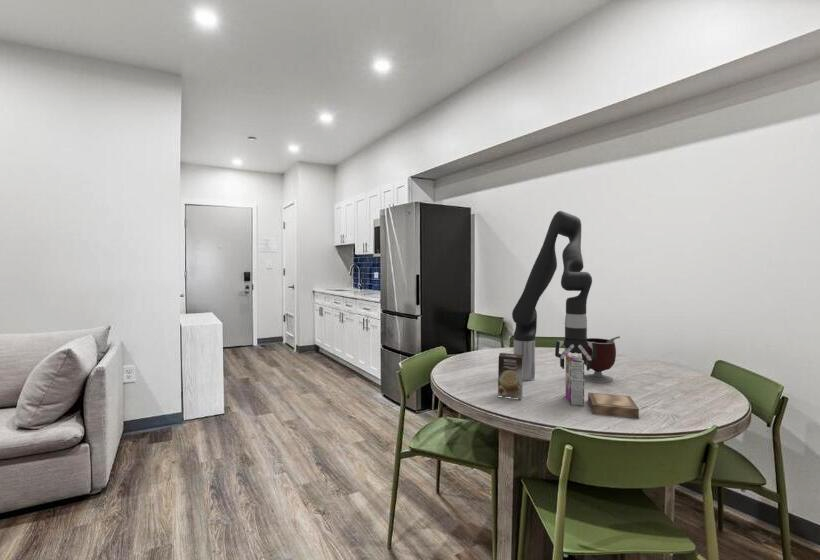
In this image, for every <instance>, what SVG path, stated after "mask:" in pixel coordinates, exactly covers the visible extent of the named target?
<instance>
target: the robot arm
mask: <svg viewBox="0 0 820 560" xmlns="http://www.w3.org/2000/svg"><path fill="white" fill-rule="evenodd" d="M558 235H559V236H562V237H565V238H568V240H569V241H568V243H567V244H566V246H565V247H564V249H563V251H562V254H561V255H562V264H563V271H562V275H561V279H560V280H561V281H560V286H561V288H562V289H563V290H565V291H567V292H568V291H569V292H574V291H575V292H579V294H578V295H576V296H572V297H567V299H566V300H565V318H564V340H558V339H556V340H555V350H554V356H555V357H556V358H559V366H560V368H561V369H562V370H563V369H565V358H566V355H567V354H578V355H580V354H581V353H582V352H583V354H584V355H585V356H586V358H587V366H585V367H586V371H590V370H592V369H591V361H592V360H593V359H597V349H596V343H595V342H587V338H588V332H587V331H588V319H587V304H588V303H587V302H588V301H587V300H588V297H589V293H590V290H591V287H592V284H593V278H592V276H591V274H590V273H589V271H583V269H584V259H583V256H582V249H581V248H582V246H581V245H582V244H581V243H582V221H581V219H580V217H578V216H576V215H574V214H571V213H568V212H566V211H563V210H558V211H557V212H555V214H554V215H553V216H552V219H551V221H550V224H549V227H548V229H547V232H546V235H545V238H544V241H543V243H542V246H541V248H540V251H539V253H538V255H537V257H536V259H535V261H534V264H533V266H532V268H531V270H530V273H529V276H528V278H527V280H526V283H525V286H524V289H523V292H522V294H521V296H520V298H519V299H518V301H517V302H516V304H515V306H514V307H513V309H512V312H511V316H512V317H511V318H512V319H513V322H514V323H515V329H514V332H513V354H519V355H523V381H526V380H528V381H533V380H532V379H534V378H535V377H536V373H535V372H536V336H537V335H536V334H537V327H538V326H537V325H538V324H537V323H538V322H537V321H538V314H537V310H536V309H537V305H538V302H539V300H540V298H541V297H542V295H543V294H544V293H545V291H546V289H547V287H548V286H549V285H550V283H551V282H552V279H553V278H554V275H555V273H556V271H557V269H558V268H557V267H558V260H557V254H556V253H557V252H556V241H557V238H558ZM588 345H589V346H590V348H592V356H589V354H588V353H587V352H586V350H585V349H586V348H587V346H588ZM562 346H564V347H565V349H564V350H563V351H562V352H561V353H560V348H561V347H562ZM534 380H535V379H534Z"/></svg>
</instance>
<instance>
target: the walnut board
mask: <svg viewBox="0 0 820 560" xmlns="http://www.w3.org/2000/svg"><path fill="white" fill-rule="evenodd" d="M587 393H588V394H587V398H588V399H587V401H588V403H589V404H588V405H589V407H590V409H591V413H592V414H593V415H595V414H596V415H602V416H603V415H606V416H614V417H623V418H624V417H625V418H633V419H634V418H635V419H640V409H639V407H638V405H637V404H636V403H635V401H634V400H633V398H632V397H631V396H630V395H622V394H621V395H619V394H611V393H598V392H587Z"/></svg>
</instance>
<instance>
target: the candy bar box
mask: <svg viewBox="0 0 820 560" xmlns="http://www.w3.org/2000/svg"><path fill="white" fill-rule="evenodd" d="M584 375H585V364H584V361H583V359H582V356H580V354H578V353H568V354H567V355H566V356H565V397H566V398H567V401H568V402H569V404H570V406H574V407H575V406H578V407H580V406H581V407H584V406H585V379H584Z"/></svg>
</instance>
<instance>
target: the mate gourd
mask: <svg viewBox="0 0 820 560" xmlns="http://www.w3.org/2000/svg"><path fill="white" fill-rule="evenodd" d="M620 338H621V337H620V335H619V336H615V337H612V338H610V339H608V338H599V337H587V342H595V343H596V349H597V359H593V360H592V361H591V369H590V370H593V371H594V372H593V373H587V374H584V381H587V380H588V381H587V382H590V383H591V382H592V383H596V384H597V383H598V384H610V382H611V383H613V382H614V378H613V377H611V376H609V375H605V374H603V371H607V370H610V369H611V368H612V367H613V366H614V365H615V362H616V358H617V349H616V348H617V347H616V343H615V340H616V339H620ZM585 350H586V352H587V353H588V354H589V356H592V348H590V346H589V345H588V346H587V348H586V349H585ZM580 354H581V358H582V359H583V361H584V366H585V367H587V358H586V356H585V355H584V354H583V352H582V353H580Z"/></svg>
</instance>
